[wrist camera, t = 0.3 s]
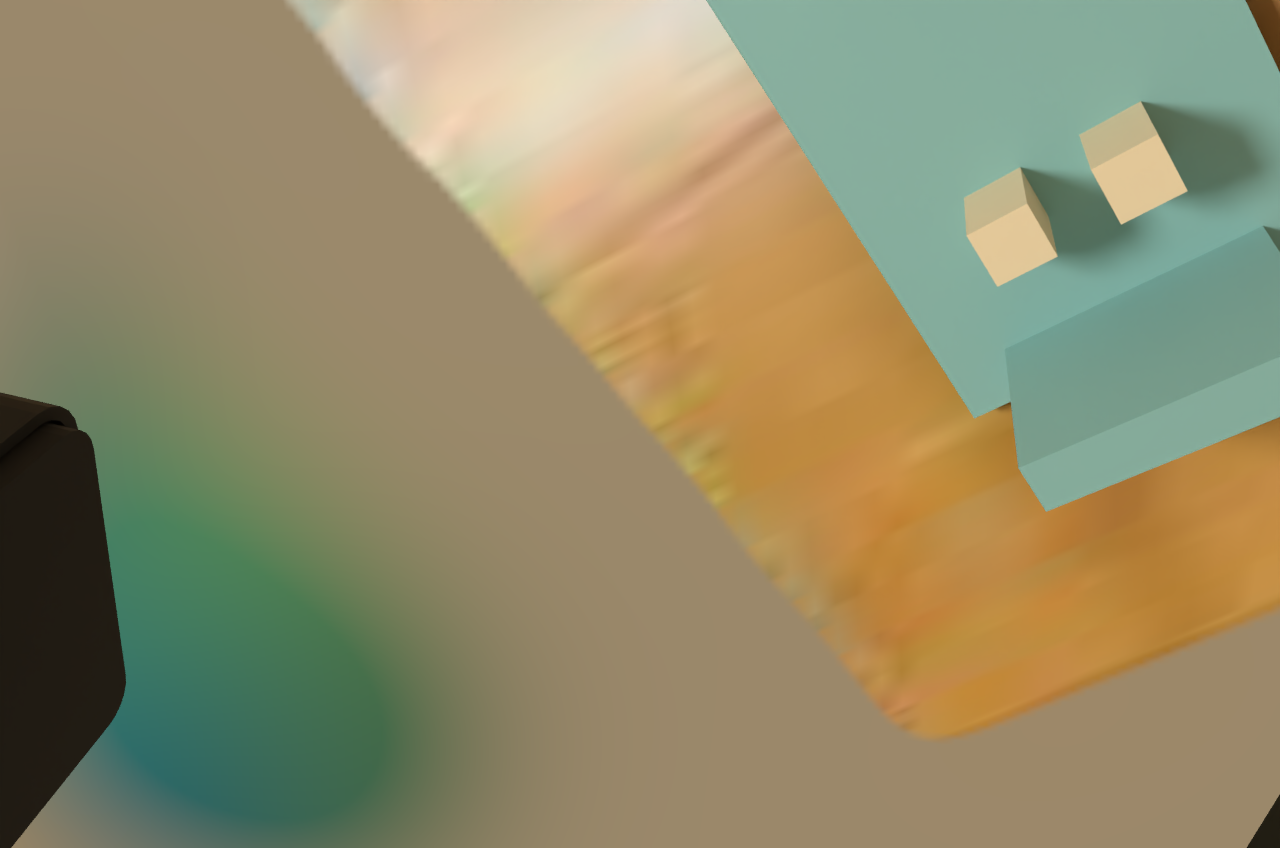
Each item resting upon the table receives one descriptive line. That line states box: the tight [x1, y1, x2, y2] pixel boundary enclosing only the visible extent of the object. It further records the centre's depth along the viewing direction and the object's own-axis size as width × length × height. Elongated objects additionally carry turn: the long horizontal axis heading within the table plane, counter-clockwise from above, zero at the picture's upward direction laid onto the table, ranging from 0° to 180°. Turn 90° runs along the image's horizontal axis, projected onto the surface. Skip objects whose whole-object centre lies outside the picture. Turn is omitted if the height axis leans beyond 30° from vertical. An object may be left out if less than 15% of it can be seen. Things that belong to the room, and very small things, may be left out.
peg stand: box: [706, 0, 1280, 512], centre depth 31 cm, size 22×12×8 cm, turn 36°
